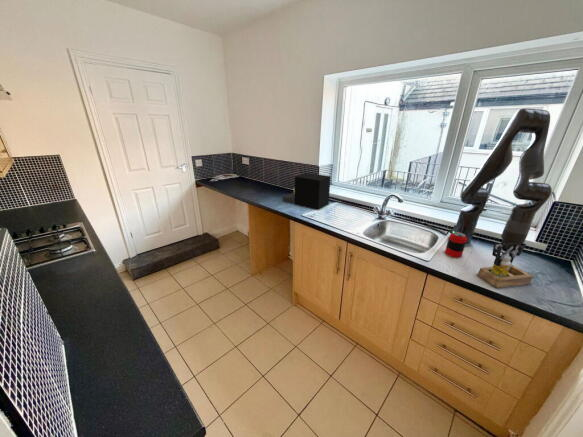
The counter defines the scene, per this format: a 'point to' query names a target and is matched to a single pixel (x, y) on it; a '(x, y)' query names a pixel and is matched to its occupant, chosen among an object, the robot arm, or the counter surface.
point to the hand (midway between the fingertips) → (502, 264)
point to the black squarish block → (310, 191)
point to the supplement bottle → (502, 267)
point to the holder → (511, 279)
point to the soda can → (456, 244)
